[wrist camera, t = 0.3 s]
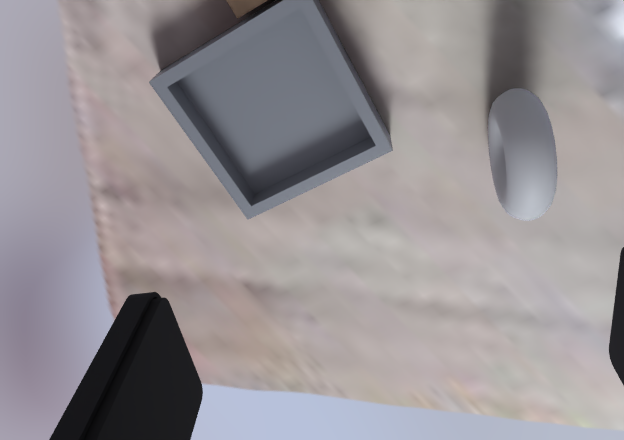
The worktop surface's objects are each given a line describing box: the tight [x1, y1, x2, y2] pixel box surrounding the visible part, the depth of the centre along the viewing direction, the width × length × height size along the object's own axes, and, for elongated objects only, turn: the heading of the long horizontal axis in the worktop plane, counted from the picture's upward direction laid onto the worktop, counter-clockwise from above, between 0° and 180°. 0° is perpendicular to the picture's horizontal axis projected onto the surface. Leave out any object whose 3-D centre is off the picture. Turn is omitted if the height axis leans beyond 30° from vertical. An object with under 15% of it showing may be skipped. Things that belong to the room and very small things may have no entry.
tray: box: [149, 0, 393, 219], centre depth 44 cm, size 14×14×3 cm
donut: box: [488, 88, 557, 221], centre depth 41 cm, size 10×4×10 cm, turn 12°
